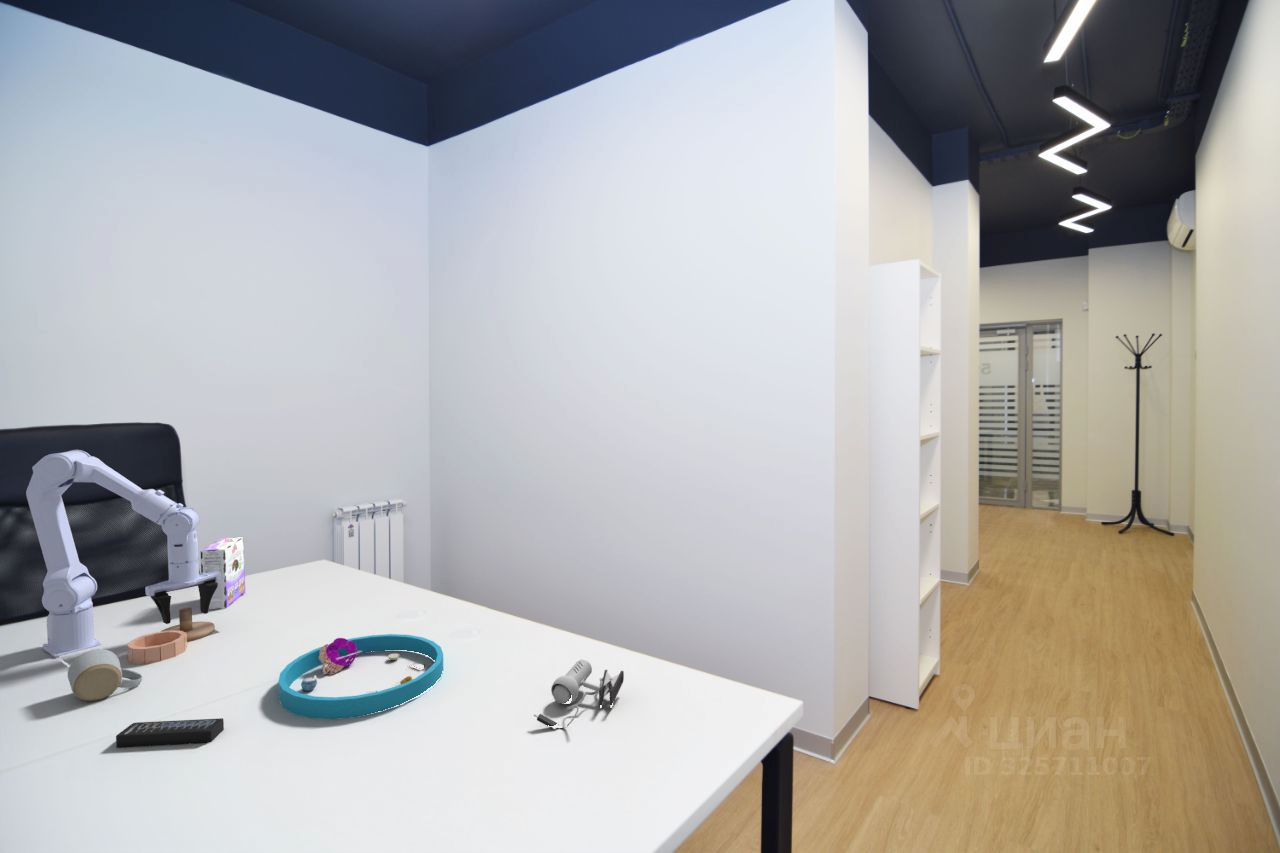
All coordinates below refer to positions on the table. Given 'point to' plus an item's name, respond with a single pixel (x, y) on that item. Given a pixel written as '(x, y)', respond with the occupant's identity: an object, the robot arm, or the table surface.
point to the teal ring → (349, 649)
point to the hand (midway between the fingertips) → (186, 617)
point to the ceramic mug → (99, 675)
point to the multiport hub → (170, 733)
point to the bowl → (157, 646)
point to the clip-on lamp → (575, 680)
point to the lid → (192, 626)
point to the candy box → (225, 570)
